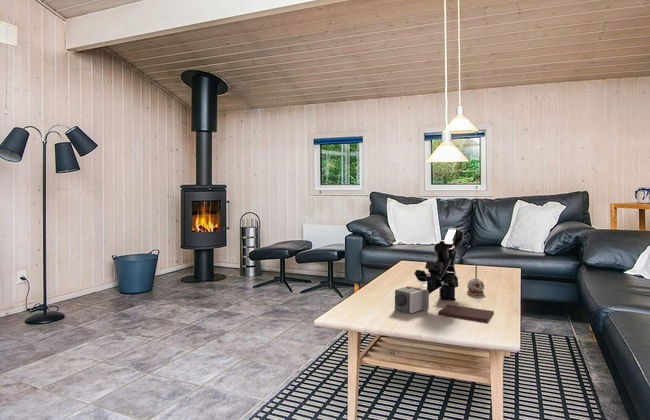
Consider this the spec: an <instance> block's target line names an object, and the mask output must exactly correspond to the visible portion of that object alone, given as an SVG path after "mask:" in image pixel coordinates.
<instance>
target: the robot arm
mask: <svg viewBox="0 0 650 420" xmlns="http://www.w3.org/2000/svg"><path fill="white" fill-rule="evenodd" d="M463 242H465V234H464V232H463V231H461V230H459V229H458V228H457V227H454V228H453V227H449V228H447V231H446V233H445V236H444V239H442V240H440V241H439V242H438V243H436V244H435V245H434V248H433V250H434V253H435V257H436V261H431V260H430V261H429V260H427V261H426V262H425V267H424V268H425V269H427V273H426V271H425V270H422V269H416V270H415V271H414V273H413V274H414V276H415V277H416V279H417V280H418V282H423V283H425V282H426V290H428V291H429V295H430V294H432V293H433V292H435V291H437V290H438V289H439V291H438V292H439V294H438V296H439V298H440V299H441V300H442V301H456V300H457V299H456V288H458V287H459V279H458V276H457V273H456V269H455V266H456V260H457V254H458V250H459V249H460V248H461V247H462V246H463Z"/></svg>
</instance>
